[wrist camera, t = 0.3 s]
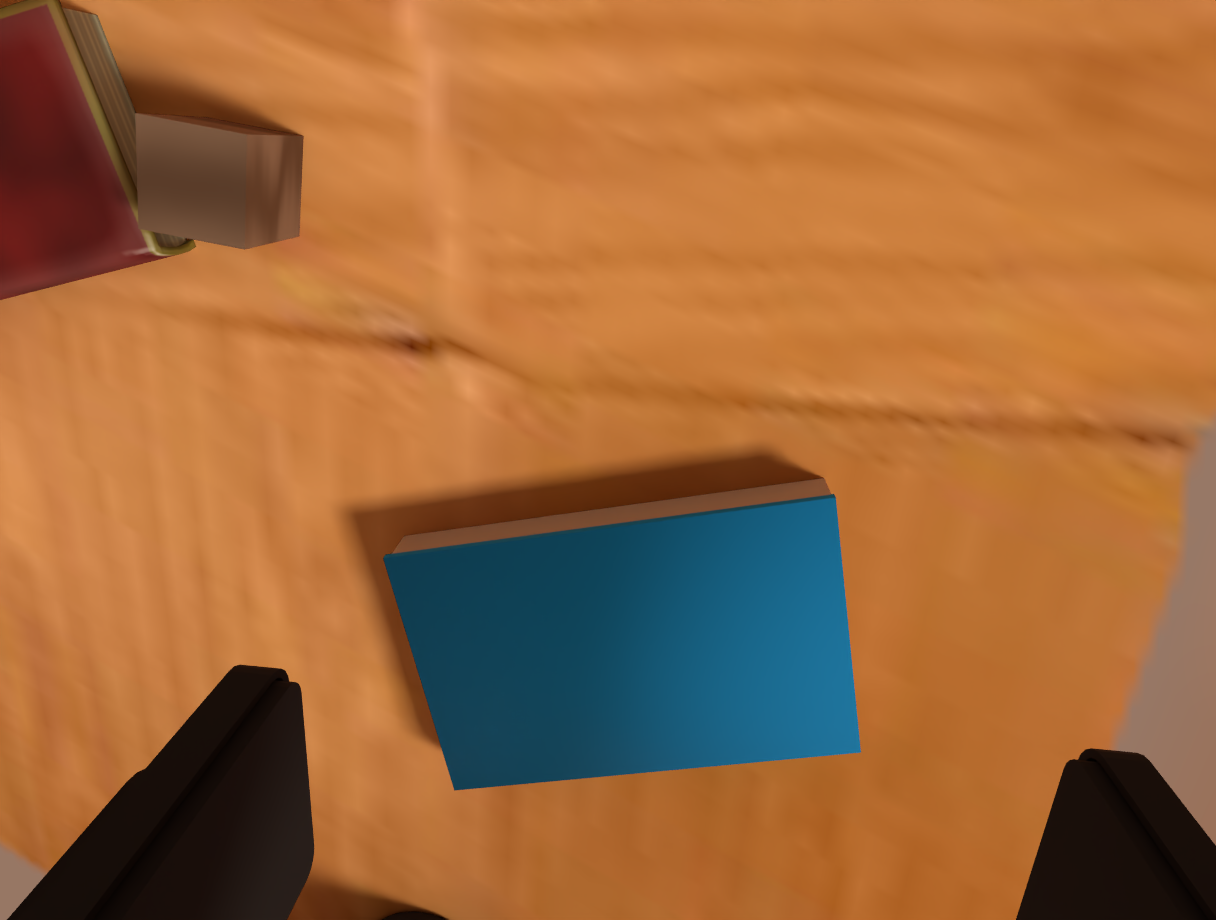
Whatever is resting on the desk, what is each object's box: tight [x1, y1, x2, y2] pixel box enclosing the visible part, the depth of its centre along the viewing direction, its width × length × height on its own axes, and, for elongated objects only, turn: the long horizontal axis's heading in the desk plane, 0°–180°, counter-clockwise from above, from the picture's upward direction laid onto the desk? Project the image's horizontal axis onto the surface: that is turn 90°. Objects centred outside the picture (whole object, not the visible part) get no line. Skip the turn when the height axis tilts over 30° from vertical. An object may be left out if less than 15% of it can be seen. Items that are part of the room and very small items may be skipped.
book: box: [383, 478, 861, 790], centre depth 49 cm, size 17×4×25 cm
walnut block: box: [135, 113, 303, 249], centre depth 40 cm, size 5×5×6 cm
